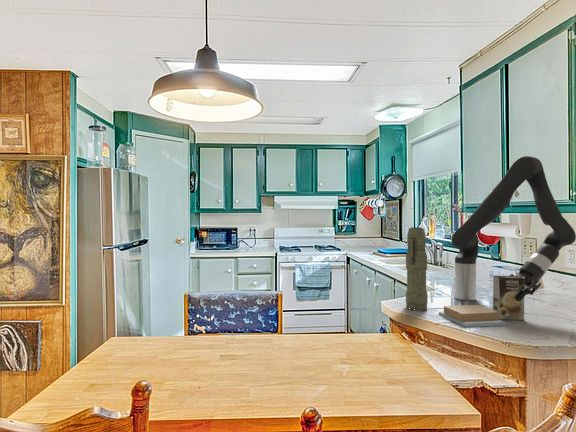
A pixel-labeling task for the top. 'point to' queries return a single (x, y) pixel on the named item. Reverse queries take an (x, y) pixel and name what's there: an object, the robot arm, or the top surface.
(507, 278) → the coffee box
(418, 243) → the thermos
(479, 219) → the robot arm
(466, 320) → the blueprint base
